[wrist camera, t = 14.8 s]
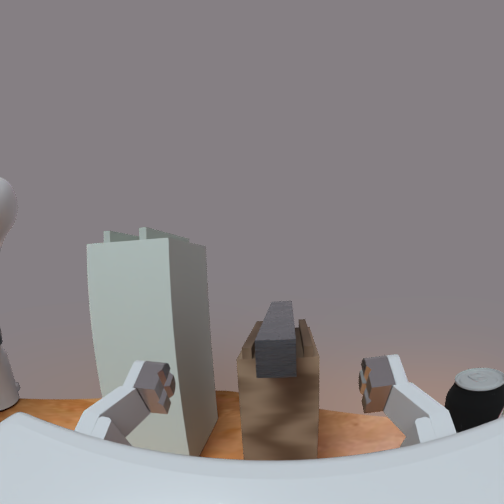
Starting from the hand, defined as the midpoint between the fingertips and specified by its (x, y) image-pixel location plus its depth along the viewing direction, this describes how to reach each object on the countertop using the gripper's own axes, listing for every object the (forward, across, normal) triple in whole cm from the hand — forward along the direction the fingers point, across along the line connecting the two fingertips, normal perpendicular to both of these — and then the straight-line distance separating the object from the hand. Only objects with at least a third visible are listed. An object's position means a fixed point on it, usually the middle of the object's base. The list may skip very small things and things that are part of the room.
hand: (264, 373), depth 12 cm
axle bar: (+16, 0, -13) cm, 20 cm away
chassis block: (+8, 0, -26) cm, 27 cm away
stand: (+10, -15, -27) cm, 33 cm away
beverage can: (-1, +18, -21) cm, 28 cm away
